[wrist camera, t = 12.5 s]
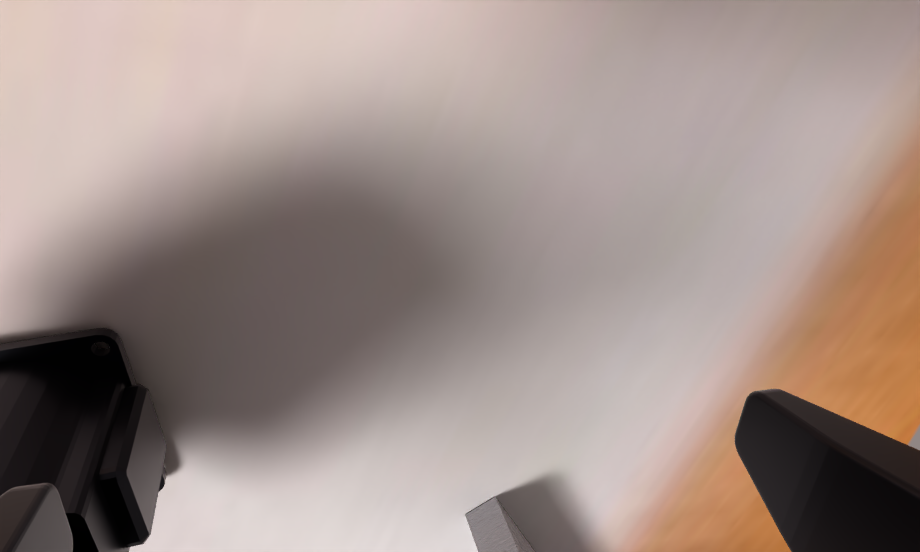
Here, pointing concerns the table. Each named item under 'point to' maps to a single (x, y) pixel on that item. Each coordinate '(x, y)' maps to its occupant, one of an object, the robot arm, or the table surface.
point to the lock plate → (495, 529)
